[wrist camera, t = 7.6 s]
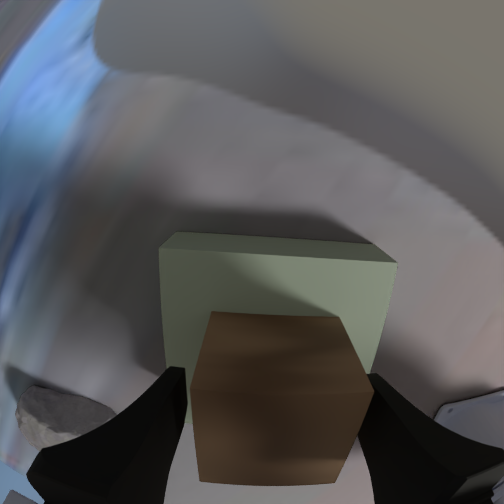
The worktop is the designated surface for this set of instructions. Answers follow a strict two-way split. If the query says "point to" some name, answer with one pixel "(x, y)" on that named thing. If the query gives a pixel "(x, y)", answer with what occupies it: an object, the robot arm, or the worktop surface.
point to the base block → (269, 288)
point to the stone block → (57, 416)
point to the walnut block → (276, 399)
